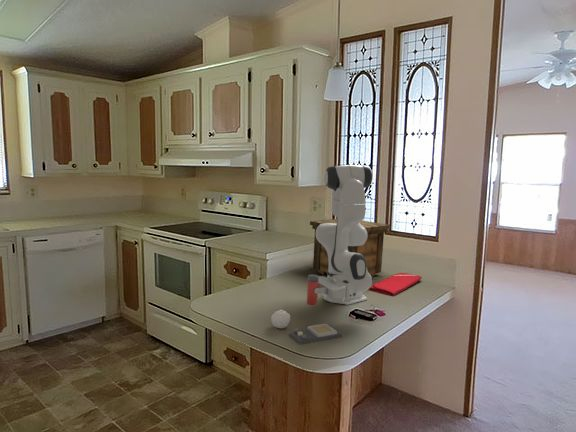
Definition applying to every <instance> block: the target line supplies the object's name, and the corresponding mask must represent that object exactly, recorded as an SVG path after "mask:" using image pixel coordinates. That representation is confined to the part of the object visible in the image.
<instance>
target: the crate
mask: <svg viewBox="0 0 576 432" xmlns="http://www.w3.org/2000/svg"><path fill="white" fill-rule="evenodd" d="M337 221H338V218H330V219H321V220H320V219H319V220H310V221H309V226H312V227H311V229H313V230H314V241H313V260H312V269H313V270H316V271H317V273H319V274H322V275H327V271H328V265H329V262H328V254H327V251H326V249H325V248H324V246H323V245H322V244H321V243H319V242H318V240H317V238H316V229H317V227H318V226H319V225H320V224H324V223H337ZM360 224H361V225H362V226H363V227H364V228H365V229H366V231H367V235H368V236H367V240H366V242H365V243H364V244H363V245H361V246H348V251H349V252H354V253H360V254H362V255H363V256H364V257H365V259H366V263H367V265H366V267H367V270H368V273H369V274H370V275H371V277H372V278H373V277H375V276H376V274H380V273H381V272H382V268H383V267H382V264H383V252H384V251H383V250H384V249H383V248H384V238H385V237H384V236H385V234H386V233H387V232H388V230H389V229H390V228H391V225H390V224H387V223H380V222H379V223H378V222H373V221H367V220H362V221H361V222H360Z"/></svg>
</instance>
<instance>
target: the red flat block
mask: <svg viewBox="0 0 576 432" xmlns="http://www.w3.org/2000/svg"><path fill="white" fill-rule="evenodd" d="M421 279H422V276H420V275H418V274H417V275H416V274H412V273H408V272H398V273H395V274H393V275H391V276H388V277H387V278H384V279H382V280H379V281H378V282H376V283H372V285H371V287H370V288H369V289H368V290H367V291H371V292H375V293H379V294H383V295H387V296H391V297H394V296H396V295H397V294H400V293H402V292H403V291H405V290H406V289H408V288H410V287H411V286H413V285H415V284H416V283H418V282H419V281H420V280H421Z"/></svg>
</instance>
